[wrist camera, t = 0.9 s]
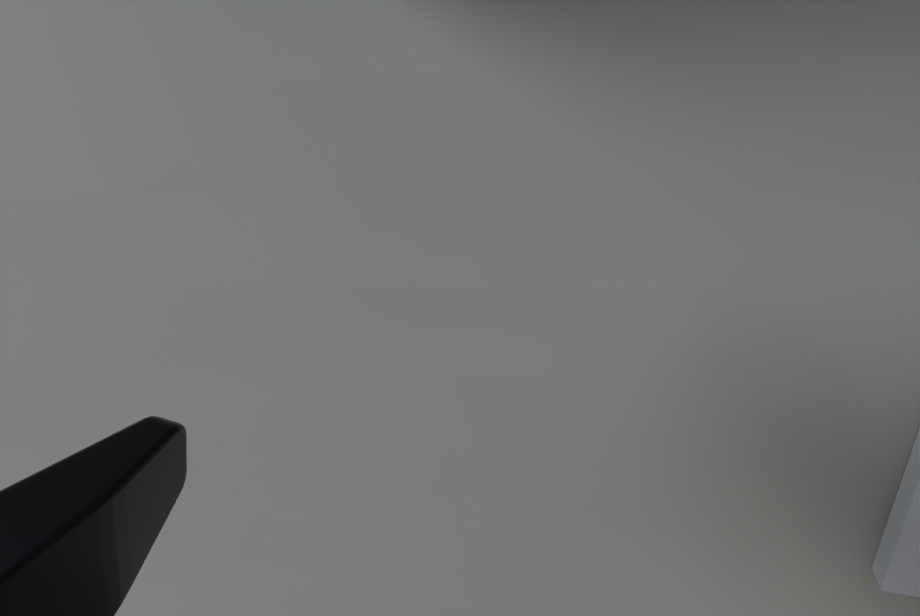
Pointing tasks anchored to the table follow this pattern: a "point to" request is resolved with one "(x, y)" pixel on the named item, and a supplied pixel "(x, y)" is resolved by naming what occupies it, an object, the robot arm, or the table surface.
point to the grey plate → (902, 535)
